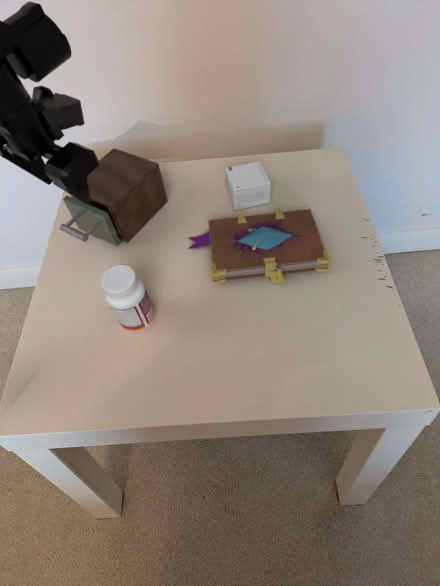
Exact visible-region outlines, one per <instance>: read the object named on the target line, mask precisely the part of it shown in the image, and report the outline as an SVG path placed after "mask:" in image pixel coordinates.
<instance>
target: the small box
mask: <svg viewBox="0 0 440 586" xmlns="http://www.w3.org/2000/svg"><path fill="white" fill-rule="evenodd" d="M224 171H225V185H226V186H225V187H226V190H227V193H228V196H229V198H230V201H231V204H232V206H233V207H232V208H233V209H234V211H238V210H244V209H248V208H253V207H256V206H262V205H268V204H270V203H271V190H272V189H271V188H272V187H271V186H272V182H271V180H270V178H269V176H268V174H267V172H266V169H265V168H264V166H263V163H262V162H261V160H259V161H253V162H249V163H244V164H239V165H234V166H228V167H225V170H224Z"/></svg>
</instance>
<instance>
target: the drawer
mask: <svg viewBox="0 0 440 586" xmlns="http://www.w3.org/2000/svg"><path fill="white" fill-rule="evenodd" d="M62 201H63V203H64V204H65V206H66V208H67V210H68V212H69V214H70V215H71V218H70V219H69V220H68V221H66V223H61V224H60V225H59V230H60V231H61V232H63V233H65V234H67V235H70V236H71V237H74V238H75V239H78V240H80V241H81V242H84V243H85V242H87V241H88V240H89V238H90V237H89V236H91V235H92V236H93V237H96V238H98V239H99V240H102V241H104V242H106V243H108V244H111V245H113V246H114V247H118V246H119V245H120V244H121V240H120V239H119V238H118V235H117V234H119V235H122V234H121V232H120V229H119V227H118V225H117V222H116V220H115V218H114V215H113V213H112V210H111V208H109V207H106V206H104V205H102V204H99V203H97V202H95V201H92V200H90V202H89V203H87V204H84V203H82V202H81V201H79V200H77V199H74V198H72V197H71V195H70V196H69V194H68V195H65V196H64V197H63V198H62ZM74 223H75V225H76V226H77V228H78V229H76V228H74V227H72V225H73V224H74Z"/></svg>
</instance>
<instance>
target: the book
mask: <svg viewBox="0 0 440 586" xmlns="http://www.w3.org/2000/svg"><path fill="white" fill-rule="evenodd" d="M207 222H208V232H206V233H203V234H201V235H197V236H191V237H189V236H188V237H187V239H189V240H190V241H192V242H194V243H193V244H192V245H190V246H189V247H188V248H187V249H188V250H189V249H198V248H201V247H204V246H207V245H209V246H210V255H211V264H210V269H209V273H210V277H211V283H212V284H214V285H215V284H221V283H224V282H226V281H235V280H245V279H252V278H253V279H254V278H263V277H264V278H269V277H270V281H271V284H272V285H275V284H277V285H279V284H281V285H282V284H287V282H288V281H287V278H285V276H284V275H288V274H289V275H290V274H298V273H300V274H301V273H307V272H308V273H309V272H320V273H327V272H329V271H331V269H330V263H332V262H333V260H332V257H331V254H330V253H329V251H328V250H326V248H325V246H324V243H323V239H322V236H321V234H320V231H319V229H318V226H317V223H316V220H315V218H314V214H313V211H312V209H311V208H306V209H297V210H289V211H282V209H281V208H280V207H276V208H275V212H272V213H271V212H270V213H262V214H253V215H244V212H243V211H241V212H238V216H236V217H227V218H226V217H225V218H217V219H209V220H208V221H207Z"/></svg>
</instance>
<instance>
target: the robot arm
mask: <svg viewBox="0 0 440 586" xmlns="http://www.w3.org/2000/svg"><path fill="white" fill-rule="evenodd" d="M71 58H72V48H71V45H70V42H69V39H68V37H67V35H66V34H65V33H63V32H62V29H60V28H59V26H58V25H57V23H56V22H55V21H54V20H53V19H52V18H51V17H49V16H48V15H47V14H46V13H45V11H44V9H43V7H42V5H41V4H40V3H37V2H35V1H27V2H26V3H24V4H22V5H21V7H20V8H19V9H18V10H17V11H16V12H14V13H13V14H12V15H10V16H8V17H6V18H5V19H4V20H3V21H2V20H0V157H1V158H3V159H4V160H7V161H8V162H10V163H11V164H13V165H15V166H16V167H17V168H18V167H19V168H20V169H21V170H23V171H24V172H26V173H28V174H30V175H32V176H33V177H35V178H37V179H38V180H39V181H41V182H42V183H44V184H47V185H48V186H49V185H51V184H53V186H56V187H57V188H59V189H60V190H62V191H64V193H67V194H68V195H70V197H71V196H73V197H74V198H76V199H77V200H79V201H81V202H82V203H84V204H87V203H89V202H90V194H89V188H88V180H87V176H88V175H89V174H90V173H91V172H92V171H93V170H94V169H95V168H97V167H98V166H99V160H100V159H99V158H98V156H97V154H96V152H95V150H94V149H93V148H90V147H87V146H85V145H82V144H80V143H79V142H73V141H68V142H67V143H66V144H64V146H61V145H59V144H57V143H56V141H60V140H61V139H62V138H63V137H65V134H64V132H63V131H65V130H68V129H71V128H74V127H77V126H78V127H82V126H84V125H85V117H84V113H83V107H82V102H81V99H79V98H75V97H73V96H70V95H67V94H65V93H58V92H53V91H52V90H51V88H50V87H47V86H44V85H37V86H33V91H32V96H31V95H30V94H29V92H28V90H27V89H26V87H25V85H24V83H23V82H22V80H30V81H32V82H33V83H40V82H41V81H42V80H44V79H45V78H46V77H48V76H49V75H50V74H51V73H53V72H54V71H55V70H57V69H58V68H59V67H61V66H62V65H63V64H65V63H66V62H67V61H69V59H71ZM21 79H22V80H21ZM43 158H44V159H47V161H44V159H43Z"/></svg>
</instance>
